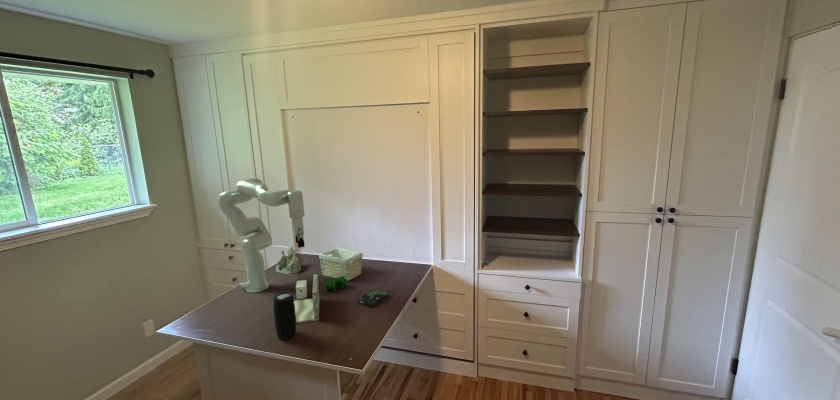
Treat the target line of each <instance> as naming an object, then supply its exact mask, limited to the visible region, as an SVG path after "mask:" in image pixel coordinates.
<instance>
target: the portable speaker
mask: <svg viewBox="0 0 840 400" xmlns="http://www.w3.org/2000/svg"><path fill="white" fill-rule="evenodd" d="M272 299H273V317H274V326H275V331H276V336H277V339H278V340H280V341H287V340H288V339H290V338H291V337H295V336H296V334H297V324H296V314H295V305H294V301H295V300H294V296H293V293H292V292H291V291H289V290H285V291H284V290H283V291H281V292H279V293H277V294H275V295H273V298H272Z"/></svg>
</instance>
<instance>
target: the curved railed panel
mask: <svg viewBox="0 0 840 400" xmlns="http://www.w3.org/2000/svg"><path fill="white" fill-rule="evenodd" d="M311 290H312V298H304V299H297V300H294V305H295V314H296V325H297V324H302V323H308V322H316V321H319V320H320V317H319V316H320V300H321V299H320V289H319V274H318V273H317V274H313V281H312V289H311Z"/></svg>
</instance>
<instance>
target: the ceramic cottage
mask: <svg viewBox="0 0 840 400" xmlns="http://www.w3.org/2000/svg"><path fill="white" fill-rule="evenodd" d="M293 247H294V246H290V248H289V250H287V255H285V251H284V250H283V249H282V250H281V251H280V256H279V258H278V259H277V260H276V267H275V271H276V272H277V273H280V274H284V273H285V275H292V274H297V273H299V272H300V271H301V270H302V266H301V264H300V262H299V261H300V260H299V257H297V256H296V255H297V253H296V250H295V249H294V248H293Z"/></svg>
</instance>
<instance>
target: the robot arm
mask: <svg viewBox="0 0 840 400" xmlns="http://www.w3.org/2000/svg"><path fill="white" fill-rule="evenodd" d="M254 198H255V199H257V200H258V201H259V202H260V203H261V204H263V205H265V206H269V207H279V206H283V205H288V214H289V218H290V219H291V226H292V235H293V236H294V238H295V243H296V244H297V247H298V249H300V248H304V247H305V240H304V239H305V238H304V235H305V228H304V219H303V217H305V215H306V214H305V206H304V205H305V204H304V195H303V192H302V191H301V190H291V189H283V190H277V191H274V192H272V191H269V188H268V185H266V184H264V182H263V181H262V180H261V179H259V178H257V177H252V178H246V179H242V180H239V181H237V183H236V185H235V188H234V189H230V190H226V191H223V192H222V193H220V194H219V196H218V200H217V203H218V207H219V209H220V211H221V212H222V213H223V215H225V216H226V218H227V220H228V222H229V223H230V225H231V226H232V228H233V230H234V232H235V233H236V235H238V236H239V237H246V238H244V239H243V240H242V242H241V244H240V246H241V250H242V254H243V256H244V262H245V270H246V279H247V281H245V282H240V283H239V286H240V288H245V289H244V290H245V291H246V292H247V293H251V294H253V293H259V292H263V291H265V290H267V289H268V288H270V283H269V282H267V279H266V270H265V261H264V257H263V255H262V253H261V252H260V251H262V250H264V249H266V248H268V247H270V246H271V245H272V243H273V238H272V236H271V233H270V232H269V230H268V228H267V226H266V225H265V223H264V221H263V220H262V219H261V218H260V217H258V216H251V217H247V216H246V215H245V213H244V211H243V210H242V209H241V208H239V207H238V206H237V205H238V204H244V203H247V202H249V201H251V200H253V199H254ZM249 235H250V236H249ZM247 236H248V237H247Z"/></svg>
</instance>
